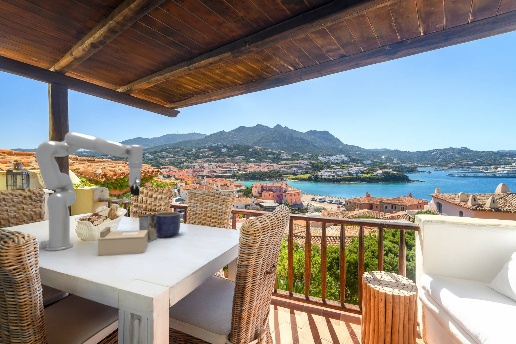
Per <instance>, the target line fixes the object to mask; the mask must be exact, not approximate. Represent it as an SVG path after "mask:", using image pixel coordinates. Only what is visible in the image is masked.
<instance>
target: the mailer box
mask: <svg viewBox="0 0 516 344" xmlns="http://www.w3.org/2000/svg"><path fill="white" fill-rule="evenodd" d="M97 243H98V244H97V256H98V257H99V256H113V255H128V254H144V253H145V251H146V249H147V246H148V243H147V233H146V235H145V237H144V238H126V239H105V240H98V239H97Z"/></svg>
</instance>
